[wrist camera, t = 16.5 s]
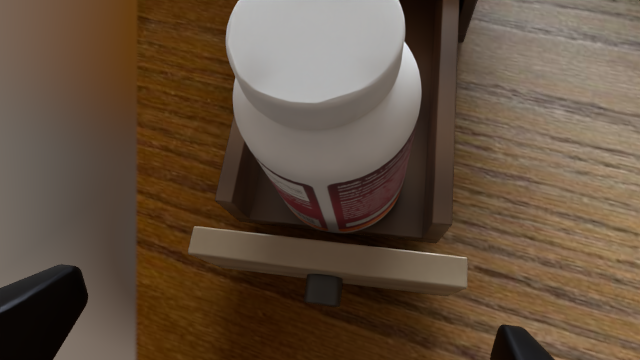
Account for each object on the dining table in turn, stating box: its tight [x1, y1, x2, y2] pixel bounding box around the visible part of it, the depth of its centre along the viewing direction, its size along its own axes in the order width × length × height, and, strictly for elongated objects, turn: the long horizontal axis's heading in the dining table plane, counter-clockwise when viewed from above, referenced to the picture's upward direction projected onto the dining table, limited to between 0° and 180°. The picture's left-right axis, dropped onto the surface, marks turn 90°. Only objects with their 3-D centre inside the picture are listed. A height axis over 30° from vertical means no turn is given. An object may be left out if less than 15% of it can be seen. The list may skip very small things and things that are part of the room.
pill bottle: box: [226, 0, 421, 233], centre depth 16 cm, size 6×6×11 cm
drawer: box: [188, 0, 468, 307], centre depth 21 cm, size 19×11×4 cm, turn 172°
